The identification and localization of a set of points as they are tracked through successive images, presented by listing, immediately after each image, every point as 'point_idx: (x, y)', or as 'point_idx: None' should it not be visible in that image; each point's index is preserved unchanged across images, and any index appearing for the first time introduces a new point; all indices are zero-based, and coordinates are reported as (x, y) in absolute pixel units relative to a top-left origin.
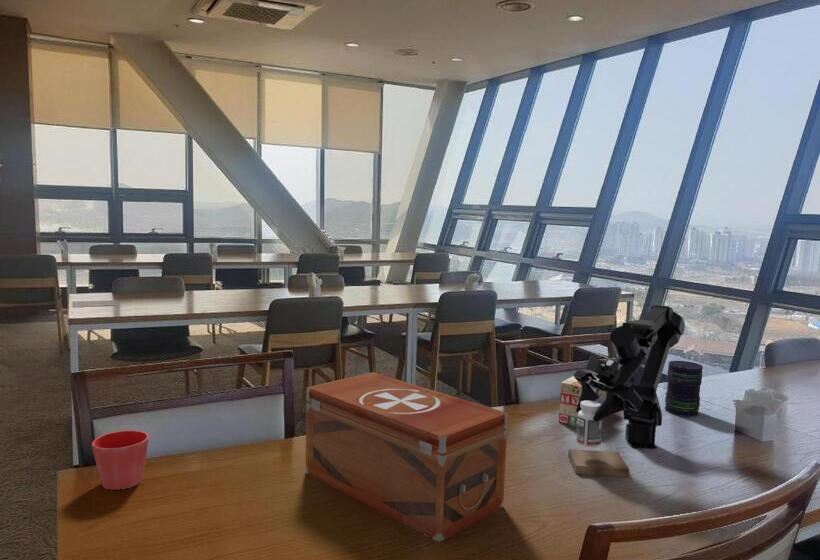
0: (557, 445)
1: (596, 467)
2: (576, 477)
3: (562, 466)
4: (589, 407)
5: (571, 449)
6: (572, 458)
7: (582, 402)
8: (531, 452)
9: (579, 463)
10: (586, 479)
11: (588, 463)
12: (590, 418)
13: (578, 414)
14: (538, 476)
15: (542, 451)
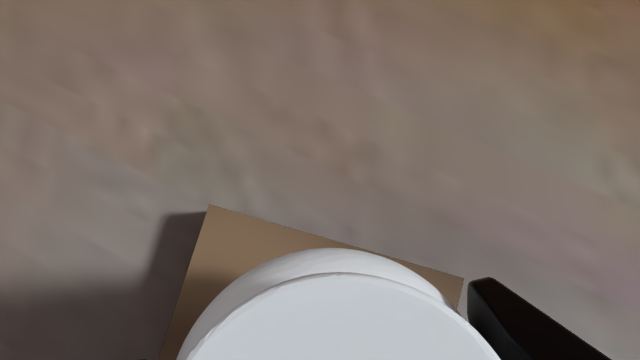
0: (630, 293)
1: (170, 323)
2: (178, 194)
3: (324, 182)
4: (192, 356)
5: (455, 294)
6: (329, 239)
7: (410, 324)
8: (529, 91)
9: (235, 239)
10: (144, 237)
11: None
12: (187, 340)
13: (365, 253)
14: (224, 6)
15: (540, 159)
